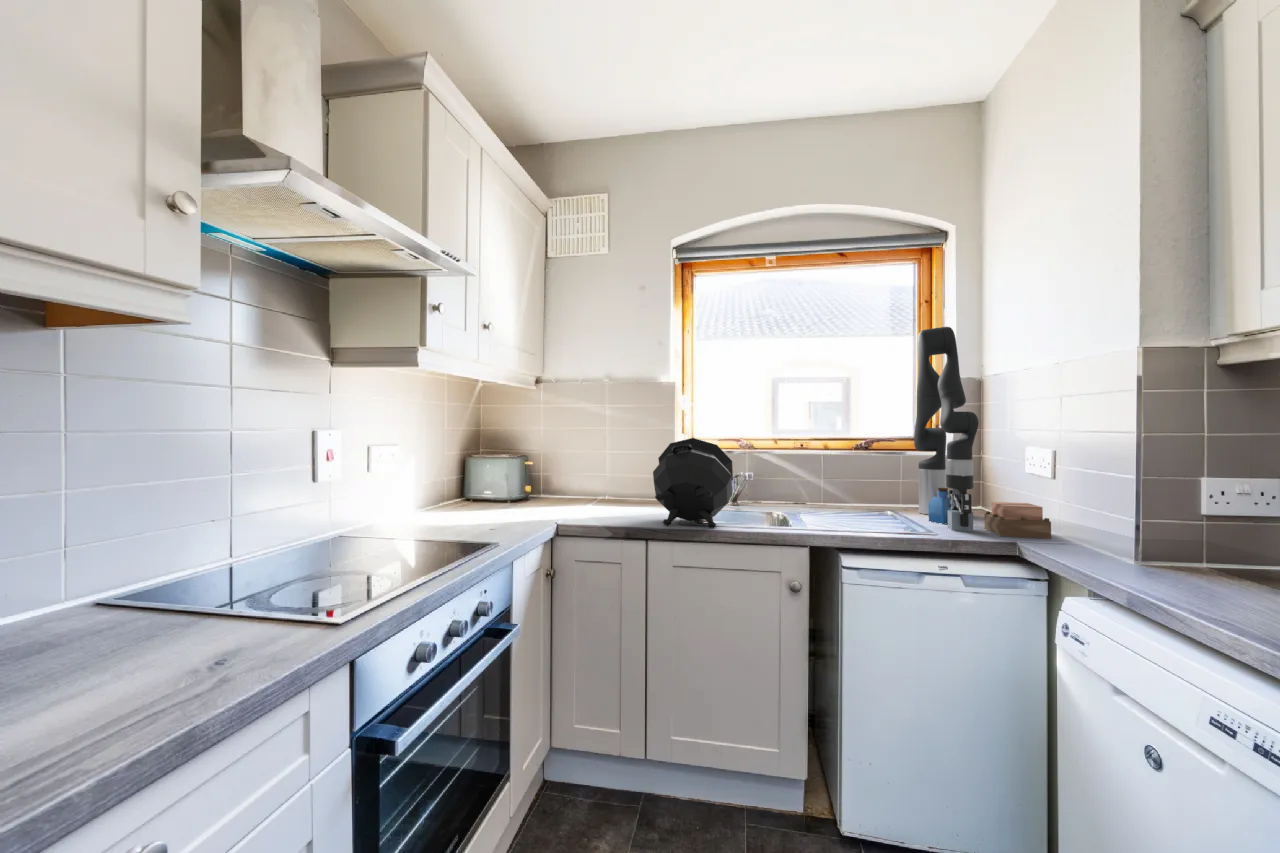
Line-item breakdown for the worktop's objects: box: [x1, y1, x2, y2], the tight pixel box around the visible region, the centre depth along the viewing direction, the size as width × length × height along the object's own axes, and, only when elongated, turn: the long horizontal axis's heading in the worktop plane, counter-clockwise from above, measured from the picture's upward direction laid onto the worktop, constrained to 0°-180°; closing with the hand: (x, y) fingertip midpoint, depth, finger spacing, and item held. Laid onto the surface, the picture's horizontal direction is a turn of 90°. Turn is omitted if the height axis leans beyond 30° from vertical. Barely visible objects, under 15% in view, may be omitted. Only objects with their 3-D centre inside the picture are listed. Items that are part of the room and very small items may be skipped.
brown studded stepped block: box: [983, 501, 1052, 540], centre depth 163 cm, size 13×13×9 cm
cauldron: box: [652, 437, 734, 529], centre depth 179 cm, size 28×28×24 cm
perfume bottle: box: [928, 487, 951, 525], centre depth 185 cm, size 6×6×12 cm
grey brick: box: [947, 510, 974, 532], centre depth 170 cm, size 4×6×6 cm
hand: (960, 524), depth 170 cm, fingers open, 8 cm apart
